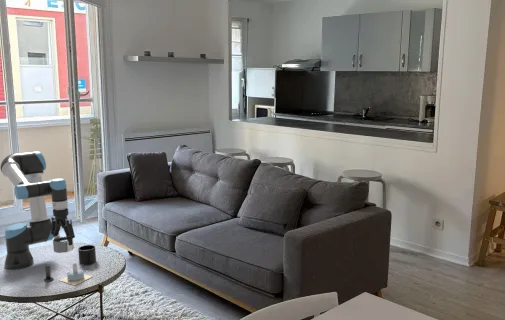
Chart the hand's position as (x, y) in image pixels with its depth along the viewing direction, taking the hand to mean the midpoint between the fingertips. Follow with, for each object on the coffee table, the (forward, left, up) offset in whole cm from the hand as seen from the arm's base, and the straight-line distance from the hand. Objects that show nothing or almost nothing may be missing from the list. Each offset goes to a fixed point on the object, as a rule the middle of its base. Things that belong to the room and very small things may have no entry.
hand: (64, 249), depth 257 cm
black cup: (-8, +22, -18) cm, 30 cm away
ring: (0, 0, 0) cm, 0 cm away
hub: (+4, +3, -17) cm, 18 cm away
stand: (-8, -5, -17) cm, 20 cm away
